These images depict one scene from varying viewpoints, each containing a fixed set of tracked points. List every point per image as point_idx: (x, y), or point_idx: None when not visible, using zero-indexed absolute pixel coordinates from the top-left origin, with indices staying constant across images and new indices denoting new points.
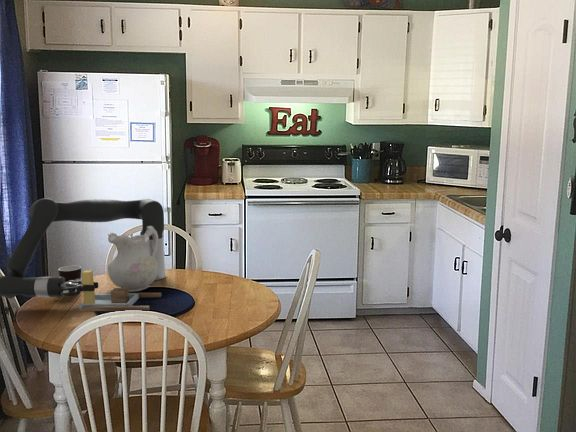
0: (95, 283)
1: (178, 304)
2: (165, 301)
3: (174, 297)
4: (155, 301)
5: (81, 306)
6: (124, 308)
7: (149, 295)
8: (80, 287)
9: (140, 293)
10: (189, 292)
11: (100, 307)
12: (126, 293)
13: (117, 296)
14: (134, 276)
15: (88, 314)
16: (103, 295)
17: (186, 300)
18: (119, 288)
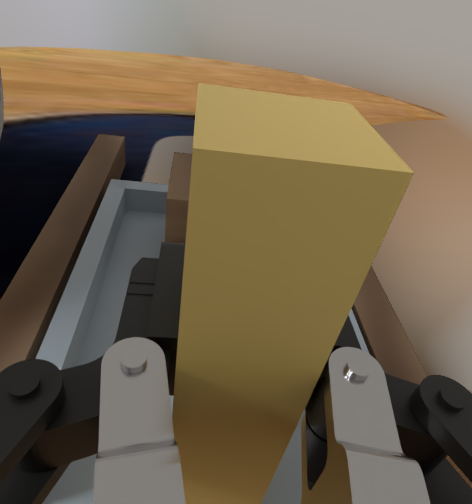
0: (183, 263)
1: (191, 135)
2: (146, 155)
3: (94, 139)
4: (139, 174)
5: None
6: None
7: (115, 164)
8: (402, 389)
9: (89, 180)
10: (36, 114)
11: (387, 301)
12: None
13: None
14: (1, 94)
15: None
16: (71, 352)
17: (145, 123)
18: (185, 179)
